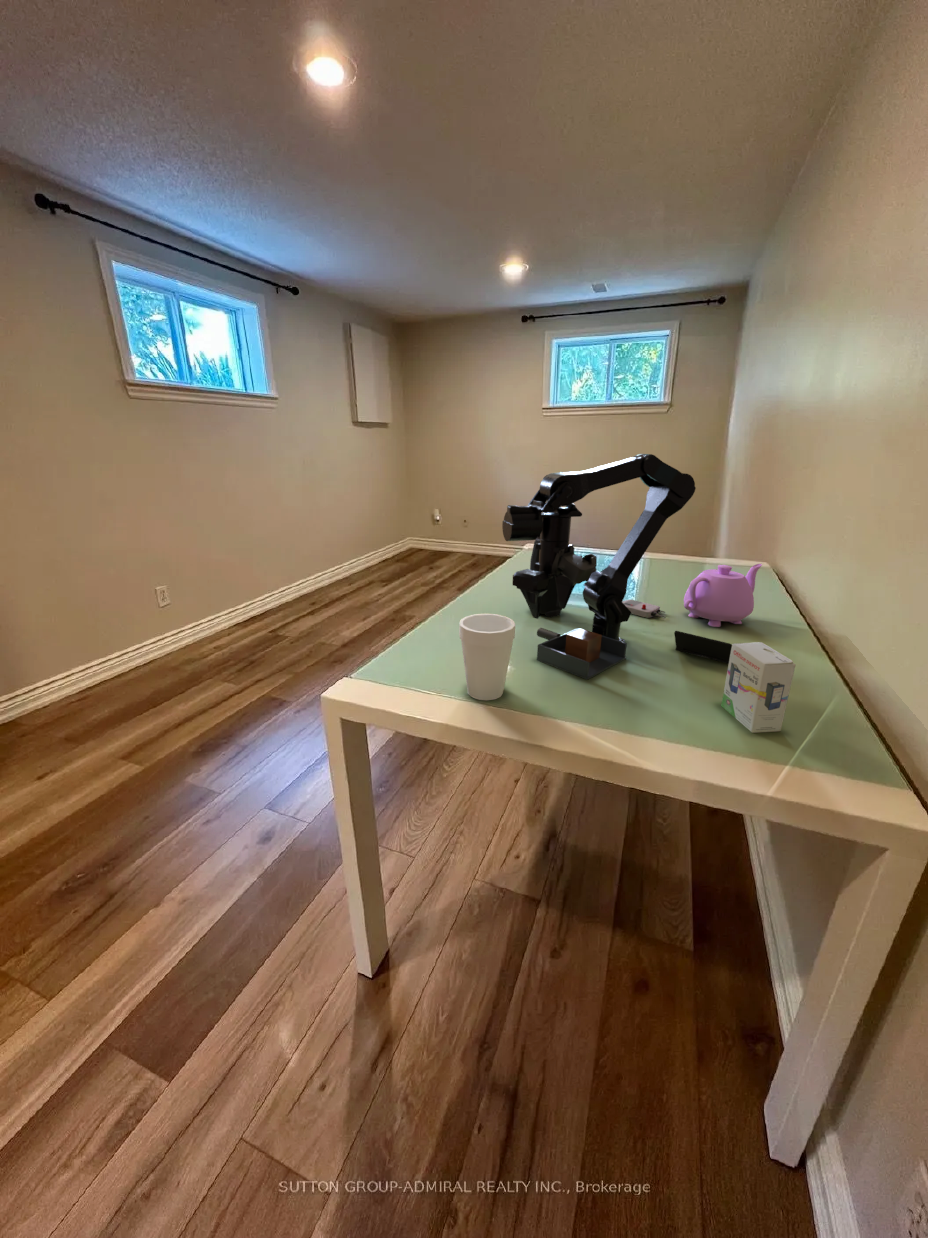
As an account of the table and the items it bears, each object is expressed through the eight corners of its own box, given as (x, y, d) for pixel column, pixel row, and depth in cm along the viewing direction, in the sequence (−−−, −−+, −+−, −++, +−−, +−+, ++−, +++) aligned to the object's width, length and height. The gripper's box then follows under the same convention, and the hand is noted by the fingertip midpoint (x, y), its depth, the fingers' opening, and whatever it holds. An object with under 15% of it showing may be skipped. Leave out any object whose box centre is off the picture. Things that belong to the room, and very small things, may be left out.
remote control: (618, 602, 136) (619, 591, 135) (674, 616, 125) (676, 605, 124) (606, 607, 131) (607, 596, 130) (662, 622, 121) (664, 611, 120)
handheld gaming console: (739, 644, 104) (738, 617, 96) (736, 674, 100) (735, 648, 93) (680, 640, 110) (675, 614, 103) (675, 668, 106) (670, 643, 99)
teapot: (726, 605, 134) (737, 555, 129) (777, 624, 120) (791, 570, 116) (661, 613, 127) (669, 561, 123) (706, 634, 114) (717, 577, 109)
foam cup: (457, 679, 91) (458, 613, 86) (507, 678, 91) (510, 613, 87) (460, 705, 82) (461, 633, 78) (515, 704, 83) (519, 632, 78)
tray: (558, 635, 112) (559, 620, 110) (626, 658, 100) (628, 641, 99) (517, 652, 102) (518, 635, 101) (587, 680, 91) (589, 661, 90)
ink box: (781, 732, 75) (800, 663, 71) (749, 734, 75) (766, 664, 71) (746, 704, 83) (761, 640, 79) (717, 705, 83) (731, 641, 79)
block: (578, 650, 103) (580, 628, 101) (599, 657, 99) (602, 634, 98) (564, 657, 100) (566, 634, 98) (585, 665, 96) (587, 641, 94)
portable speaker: (524, 608, 130) (528, 534, 124) (557, 606, 131) (563, 534, 125) (532, 618, 122) (537, 541, 116) (568, 617, 123) (575, 540, 117)
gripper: (560, 552, 86) (553, 634, 91) (615, 539, 98) (607, 612, 103) (512, 543, 94) (509, 619, 99) (569, 531, 106) (563, 600, 111)
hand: (549, 613), depth 103 cm, fingers open, 9 cm apart
